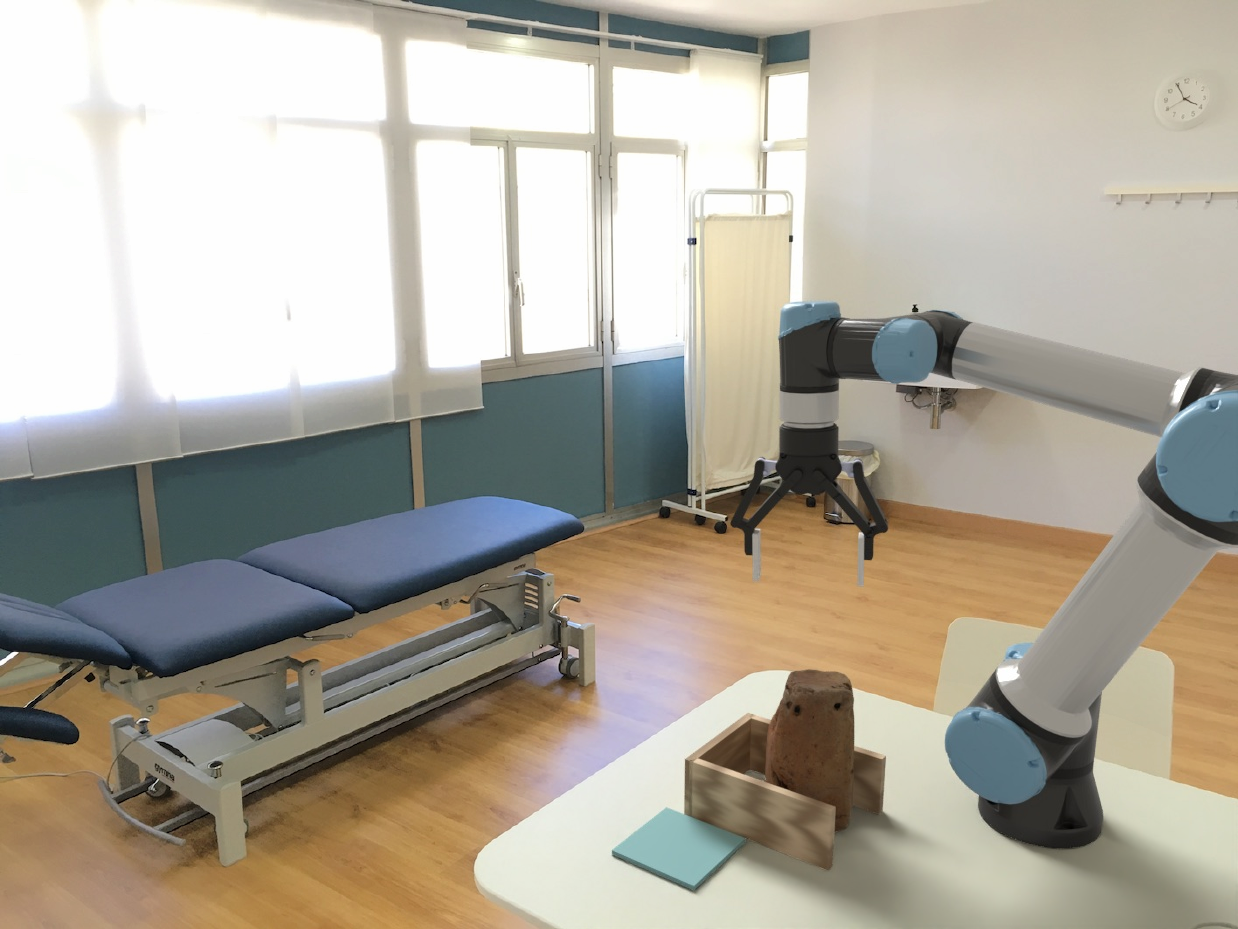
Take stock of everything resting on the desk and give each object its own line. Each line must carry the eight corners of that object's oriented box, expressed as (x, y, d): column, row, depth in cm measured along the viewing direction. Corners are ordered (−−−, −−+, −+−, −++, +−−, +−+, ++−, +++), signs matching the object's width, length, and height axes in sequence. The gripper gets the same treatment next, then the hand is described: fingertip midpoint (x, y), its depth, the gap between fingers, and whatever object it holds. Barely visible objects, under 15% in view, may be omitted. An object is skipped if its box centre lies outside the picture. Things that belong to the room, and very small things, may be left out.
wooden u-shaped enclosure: (882, 810, 137) (886, 755, 135) (828, 871, 124) (831, 811, 122) (746, 763, 149) (747, 712, 147) (684, 814, 136) (684, 759, 135)
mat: (745, 842, 130) (745, 838, 130) (693, 890, 121) (693, 886, 121) (666, 811, 137) (666, 807, 137) (611, 854, 128) (611, 850, 128)
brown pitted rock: (843, 806, 138) (850, 667, 134) (853, 838, 131) (861, 692, 126) (762, 804, 139) (766, 665, 134) (767, 836, 131) (772, 691, 127)
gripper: (909, 419, 133) (905, 576, 137) (717, 417, 140) (719, 568, 144) (909, 428, 126) (905, 594, 130) (707, 426, 132) (710, 584, 137)
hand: (808, 581), depth 137 cm, fingers open, 13 cm apart
